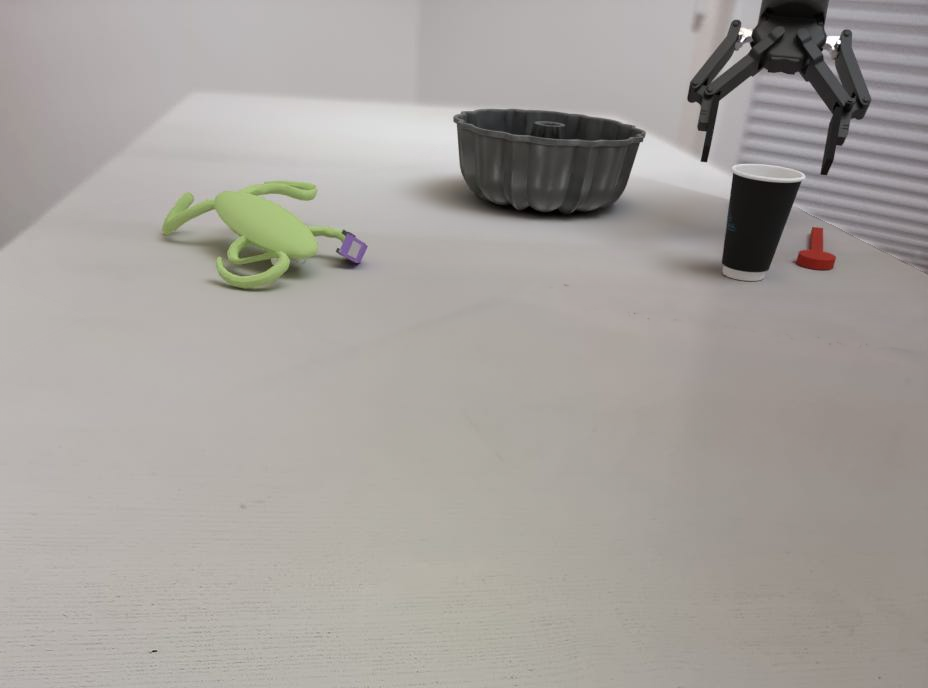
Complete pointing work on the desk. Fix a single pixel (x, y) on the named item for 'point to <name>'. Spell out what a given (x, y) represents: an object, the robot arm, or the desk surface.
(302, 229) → the figurine
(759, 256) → the dixie cup
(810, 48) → the robot arm
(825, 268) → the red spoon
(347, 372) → the desk surface
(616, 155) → the bundt pan
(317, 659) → the desk surface
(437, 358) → the desk surface
